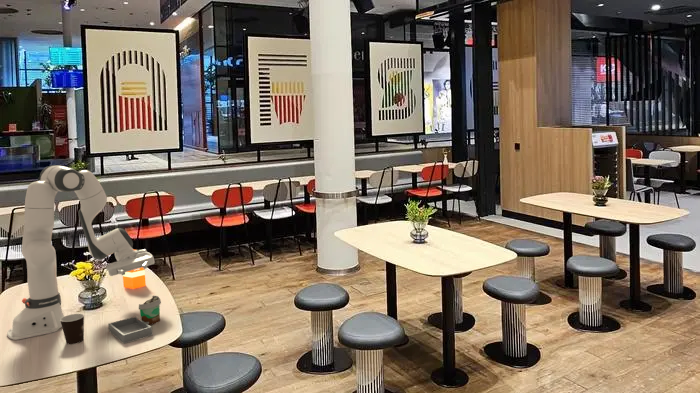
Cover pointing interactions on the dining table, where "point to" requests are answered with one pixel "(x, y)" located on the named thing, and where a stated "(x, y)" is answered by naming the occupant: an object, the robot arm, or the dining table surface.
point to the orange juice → (134, 278)
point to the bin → (130, 329)
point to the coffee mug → (73, 328)
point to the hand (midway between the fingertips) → (134, 270)
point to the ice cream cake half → (150, 310)
